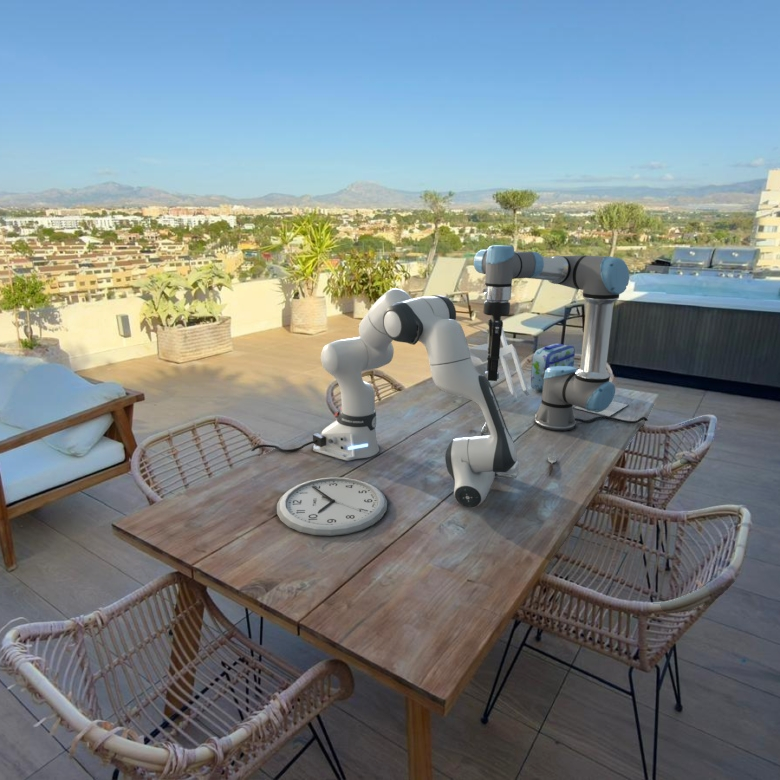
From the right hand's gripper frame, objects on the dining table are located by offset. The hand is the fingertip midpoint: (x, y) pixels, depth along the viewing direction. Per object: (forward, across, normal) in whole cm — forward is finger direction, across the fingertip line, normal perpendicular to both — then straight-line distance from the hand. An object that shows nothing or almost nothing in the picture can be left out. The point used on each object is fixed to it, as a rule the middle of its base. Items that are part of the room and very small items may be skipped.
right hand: (491, 378), depth 158 cm
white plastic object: (+30, -80, +1) cm, 86 cm away
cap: (-1, 0, 0) cm, 1 cm away
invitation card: (+31, -68, +53) cm, 92 cm away
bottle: (+30, +4, 0) cm, 30 cm away
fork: (+30, -3, +21) cm, 37 cm away
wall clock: (+29, +31, -43) cm, 60 cm away
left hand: (+24, +3, 0) cm, 24 cm away
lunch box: (+31, -93, +36) cm, 104 cm away
